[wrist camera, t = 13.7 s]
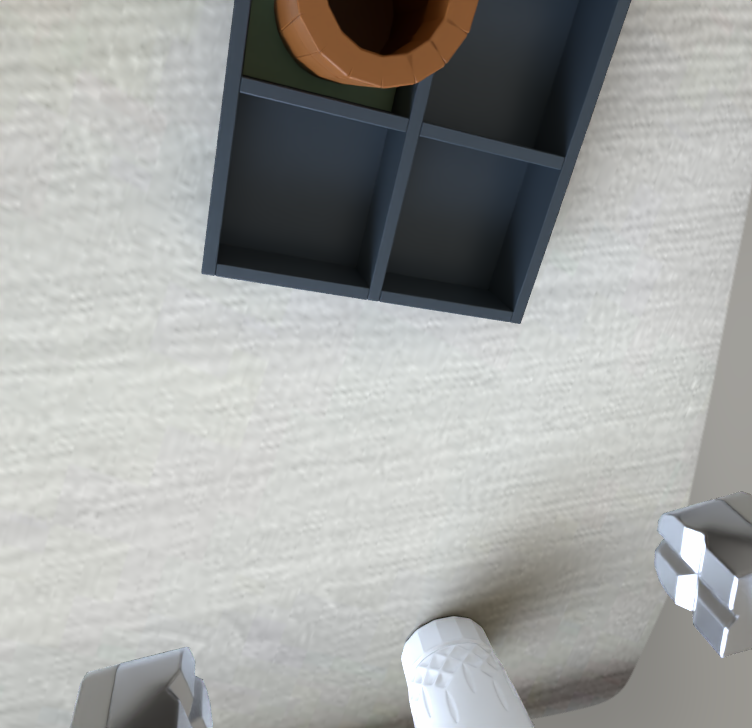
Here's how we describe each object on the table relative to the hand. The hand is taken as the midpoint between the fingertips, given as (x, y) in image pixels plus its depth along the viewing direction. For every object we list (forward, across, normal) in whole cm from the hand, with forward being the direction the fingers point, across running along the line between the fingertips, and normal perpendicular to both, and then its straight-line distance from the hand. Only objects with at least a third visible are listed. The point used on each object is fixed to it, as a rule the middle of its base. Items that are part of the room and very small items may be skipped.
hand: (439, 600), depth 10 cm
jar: (+23, -4, -10) cm, 25 cm away
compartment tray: (+24, -6, -5) cm, 25 cm away
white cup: (+24, -5, +33) cm, 41 cm away
